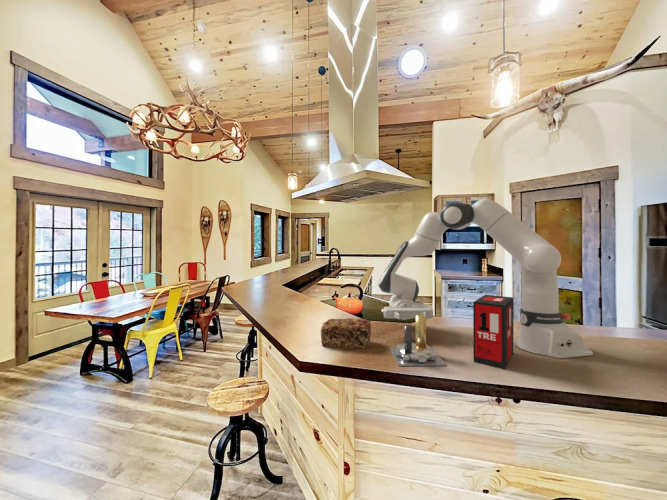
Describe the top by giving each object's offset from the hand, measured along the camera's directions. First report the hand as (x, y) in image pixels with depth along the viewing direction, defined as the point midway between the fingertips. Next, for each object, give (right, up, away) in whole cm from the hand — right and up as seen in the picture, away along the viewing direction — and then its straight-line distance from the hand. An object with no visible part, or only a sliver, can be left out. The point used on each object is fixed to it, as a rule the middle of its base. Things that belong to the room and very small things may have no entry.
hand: (412, 317), depth 111 cm
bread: (-26, -11, +1) cm, 28 cm away
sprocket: (-2, -11, -13) cm, 17 cm away
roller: (0, -8, -10) cm, 13 cm away
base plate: (-2, -11, -13) cm, 17 cm away
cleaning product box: (+24, -11, -14) cm, 30 cm away
